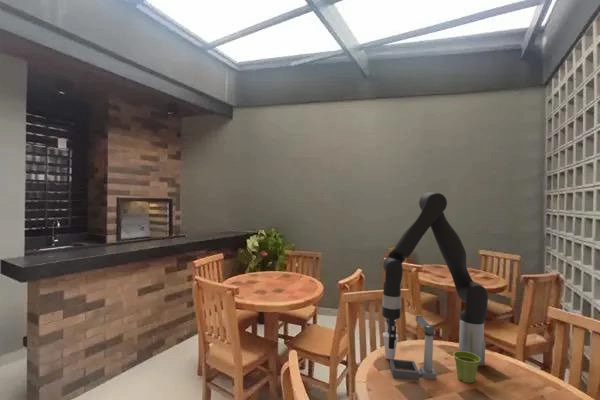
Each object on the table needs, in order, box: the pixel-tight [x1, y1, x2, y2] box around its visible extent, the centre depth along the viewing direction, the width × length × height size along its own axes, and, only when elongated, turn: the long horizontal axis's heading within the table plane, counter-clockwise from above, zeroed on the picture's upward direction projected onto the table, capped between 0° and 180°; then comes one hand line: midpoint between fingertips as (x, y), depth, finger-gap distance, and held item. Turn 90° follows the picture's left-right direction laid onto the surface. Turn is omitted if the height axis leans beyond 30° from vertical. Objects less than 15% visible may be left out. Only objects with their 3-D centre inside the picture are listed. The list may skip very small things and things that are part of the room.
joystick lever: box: [414, 314, 435, 337], centre depth 140 cm, size 16×4×3 cm, turn 178°
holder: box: [389, 334, 437, 381], centre depth 135 cm, size 16×9×16 cm, turn 82°
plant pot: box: [452, 350, 481, 384], centre depth 132 cm, size 9×9×9 cm
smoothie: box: [382, 331, 399, 360], centre depth 147 cm, size 6×6×14 cm
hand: (390, 344), depth 147 cm, fingers closed on smoothie, 6 cm apart
